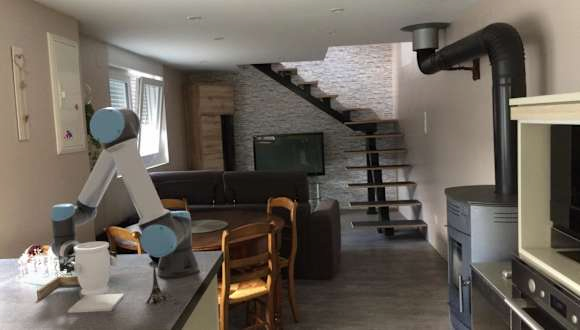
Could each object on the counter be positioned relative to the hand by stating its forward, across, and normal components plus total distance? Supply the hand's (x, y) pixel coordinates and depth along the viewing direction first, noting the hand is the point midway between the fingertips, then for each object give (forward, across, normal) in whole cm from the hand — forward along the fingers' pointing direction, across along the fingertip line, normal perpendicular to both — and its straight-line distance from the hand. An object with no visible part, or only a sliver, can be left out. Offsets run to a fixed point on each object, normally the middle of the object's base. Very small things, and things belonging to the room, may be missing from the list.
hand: (97, 266), depth 157 cm
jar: (-4, 0, -9) cm, 10 cm away
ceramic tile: (-4, 0, -13) cm, 14 cm away
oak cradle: (-24, +2, -13) cm, 28 cm away
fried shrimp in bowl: (-37, -40, -13) cm, 56 cm away
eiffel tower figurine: (+9, -15, -14) cm, 22 cm away
